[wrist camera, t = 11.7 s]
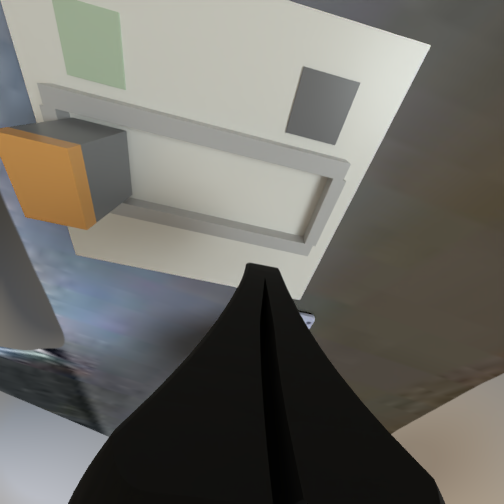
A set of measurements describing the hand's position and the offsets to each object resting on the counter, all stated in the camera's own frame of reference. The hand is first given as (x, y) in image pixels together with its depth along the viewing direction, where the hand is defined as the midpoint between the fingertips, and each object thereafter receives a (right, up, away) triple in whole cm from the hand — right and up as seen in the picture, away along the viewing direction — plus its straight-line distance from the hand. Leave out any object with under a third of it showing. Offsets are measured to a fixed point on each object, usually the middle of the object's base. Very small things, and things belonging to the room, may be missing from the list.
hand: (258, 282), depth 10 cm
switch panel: (-3, +7, +6) cm, 10 cm away
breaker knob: (-9, +7, +5) cm, 13 cm away
